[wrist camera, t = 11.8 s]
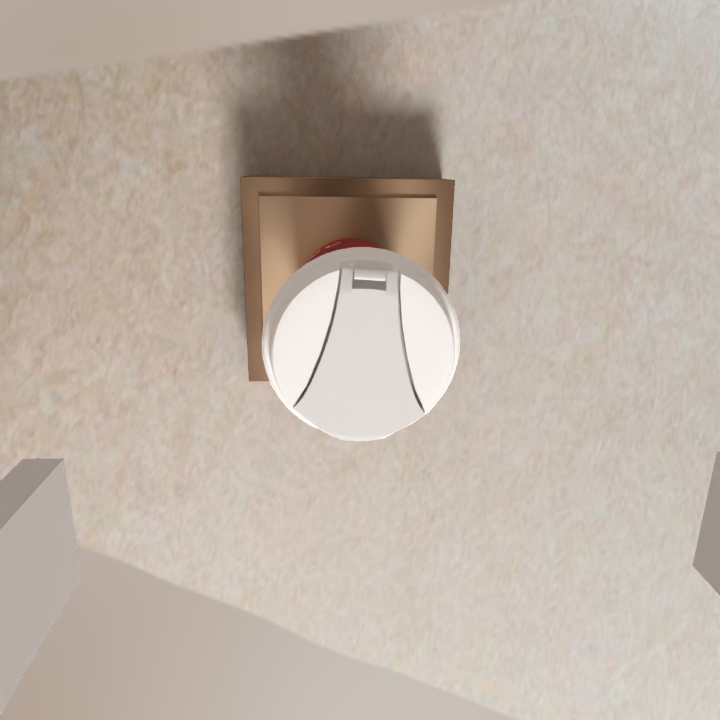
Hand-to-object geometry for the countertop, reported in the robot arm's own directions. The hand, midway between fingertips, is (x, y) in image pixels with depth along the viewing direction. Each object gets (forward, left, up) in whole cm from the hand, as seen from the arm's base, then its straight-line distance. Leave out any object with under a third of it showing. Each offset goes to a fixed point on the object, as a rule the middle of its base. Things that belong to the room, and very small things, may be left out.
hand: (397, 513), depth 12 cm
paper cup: (0, 0, -25) cm, 25 cm away
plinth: (0, 0, -28) cm, 28 cm away
